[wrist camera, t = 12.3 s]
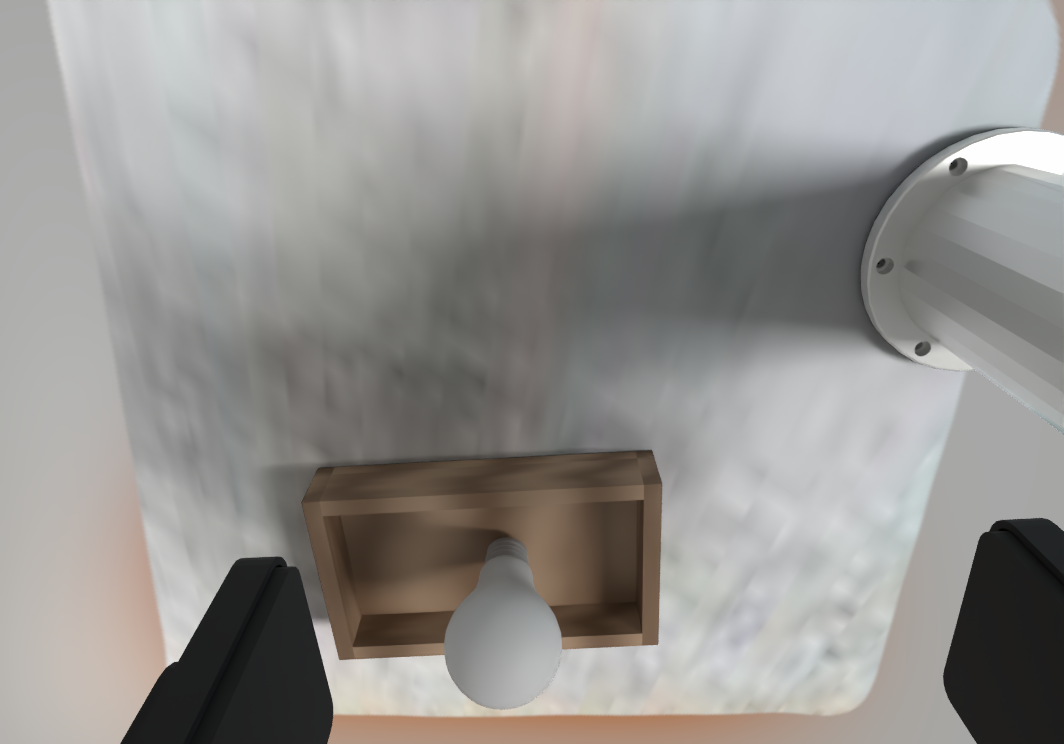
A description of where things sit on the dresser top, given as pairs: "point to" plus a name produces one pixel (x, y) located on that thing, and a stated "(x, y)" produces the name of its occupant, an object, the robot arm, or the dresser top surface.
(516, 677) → the lightbulb
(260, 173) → the dresser top surface
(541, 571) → the walnut tray
